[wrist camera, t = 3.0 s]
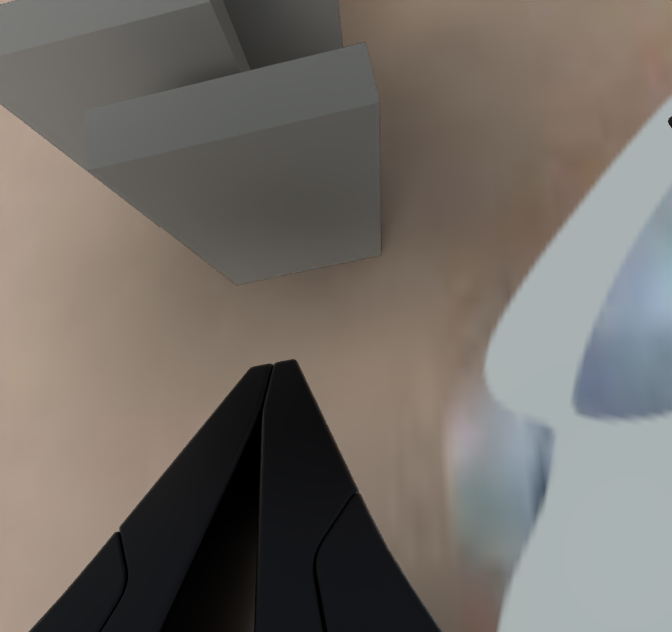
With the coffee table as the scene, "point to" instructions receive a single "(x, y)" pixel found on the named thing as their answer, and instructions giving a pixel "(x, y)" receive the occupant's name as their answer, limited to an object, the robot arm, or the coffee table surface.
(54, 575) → the coffee table surface
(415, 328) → the coffee table surface
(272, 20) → the domino
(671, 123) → the creature
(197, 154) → the domino
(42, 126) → the domino
